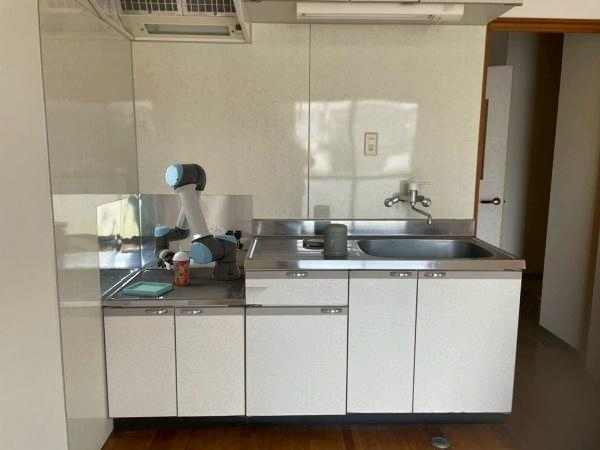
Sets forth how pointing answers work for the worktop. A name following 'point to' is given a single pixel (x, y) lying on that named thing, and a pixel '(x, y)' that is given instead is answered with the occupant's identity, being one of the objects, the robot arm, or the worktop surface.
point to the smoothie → (181, 268)
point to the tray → (147, 289)
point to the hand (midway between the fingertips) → (182, 265)
